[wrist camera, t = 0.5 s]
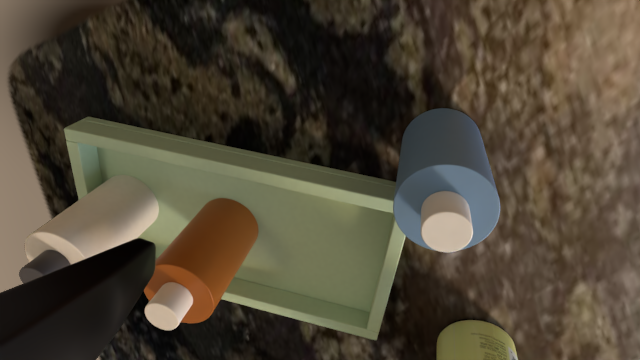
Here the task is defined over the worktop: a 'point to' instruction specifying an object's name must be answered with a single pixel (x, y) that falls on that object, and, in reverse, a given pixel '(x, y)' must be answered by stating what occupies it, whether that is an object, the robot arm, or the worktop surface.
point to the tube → (475, 342)
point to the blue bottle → (445, 183)
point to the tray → (263, 219)
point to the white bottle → (91, 226)
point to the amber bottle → (200, 264)
